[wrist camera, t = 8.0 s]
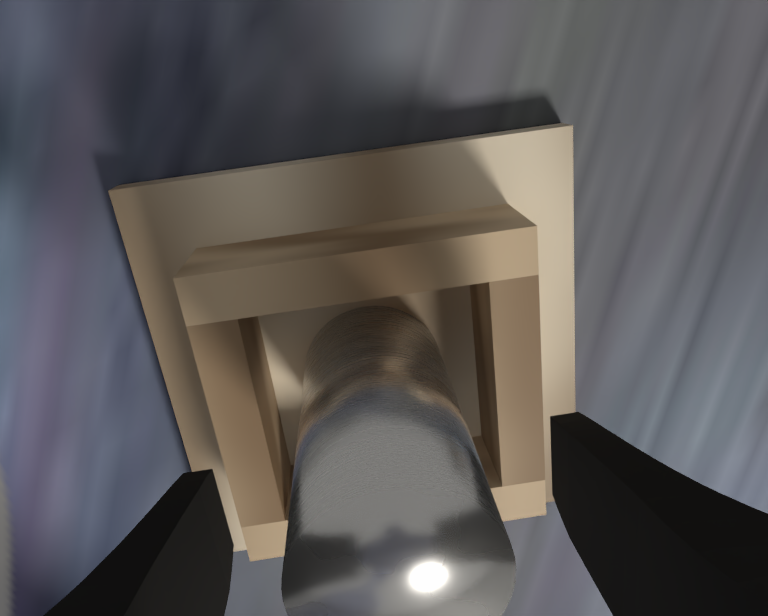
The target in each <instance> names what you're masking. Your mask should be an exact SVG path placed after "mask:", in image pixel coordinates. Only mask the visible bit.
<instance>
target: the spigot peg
mask: <svg viewBox="0 0 768 616" xmlns="http://www.w3.org/2000/svg"><path fill="white" fill-rule="evenodd" d="M515 580H516V563H515V556H514V553H513V549H512V546H511V543H510V540H509V538H508V535H507V532H506V530H505V527H504V524H503V521H502V519H501V516H500V513H499V510H498V508H497V505H496V502H495V500H494V497H493V494H492V491H491V489H490V486H489V483H488V481H487V478H486V475H485V472H484V470H483V467H482V464H481V462H480V459H479V456H478V453H477V451H476V448H475V445H474V442H473V440H472V437H471V434H470V432H469V429H468V426H467V423H466V421H465V418H464V415H463V413H462V410H461V407H460V404H459V402H458V399H457V396H456V394H455V391H454V388H453V385H452V383H451V380H450V377H449V375H448V372H447V369H446V366H445V364H444V361H443V358H442V355H441V353H440V350H439V347H438V345H437V343H436V340H435V338H434V337H433V335H432V334H431V332H430V331H429V330H428V328H427V327H426V326H425V325H424V324H423V323H422V322H420V321H419V320H418V319H417V318H415V317H414V316H412V315H411V314H409V313H406V312H404V311H402V310H399V309H396V308H392V307H387V306H376V305H375V306H364V307H358V308H354V309H351V310H348V311H346V312H344V313H342V314H339V315H338V316H336V317H335V318H333V319H331V320H330V321H329V322H328V323H327V324H325V325H324V326H323V327H322V328H321V330H320V331H319V332H318V333H317V335H316V336H315V337H314V339H313V341H312V343H311V345H310V347H309V350H308V353H307V357H306V362H305V371H304V380H303V389H302V399H301V408H300V417H299V426H298V435H297V444H296V453H295V462H294V472H293V481H292V490H291V499H290V508H289V517H288V526H287V535H286V544H285V554H284V563H283V572H282V587H281V589H282V597H283V602H284V606H285V609H286V612H287V614H288V616H501V615H502V614H503V612H504V610H505V609H506V607H507V605H508V603H509V601H510V598H511V596H512V593H513V589H514V585H515Z"/></svg>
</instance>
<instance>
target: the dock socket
mask: <svg viewBox="0 0 768 616" xmlns="http://www.w3.org/2000/svg"><path fill="white" fill-rule="evenodd" d="M108 192H109V195H110V198H111V202H112V205H113V208H114V212H115V215H116V219H117V222H118V225H119V229H120V232H121V235H122V239H123V242H124V245H125V249H126V252H127V255H128V259H129V262H130V265H131V269H132V272H133V276H134V279H135V282H136V286H137V289H138V292H139V296H140V299H141V302H142V306H143V309H144V312H145V316H146V319H147V322H148V326H149V329H150V333H151V336H152V339H153V343H154V346H155V349H156V353H157V356H158V359H159V363H160V366H161V369H162V373H163V376H164V379H165V383H166V386H167V390H168V393H169V396H170V400H171V403H172V406H173V410H174V413H175V416H176V420H177V423H178V426H179V430H180V433H181V436H182V440H183V443H184V447H185V450H186V453H187V457H188V460H189V463H190V467H191V470H192V472H195V471H201V470H208V469H213V473H214V476H215V480H216V483H217V487H218V490H219V494H220V498H221V501H222V505H223V508H224V512H225V515H226V519H227V523H228V526H229V530H230V533H231V537H232V540H233V544H234V549H233V552H235V551H241V550H247V551H248V555H249V559H250V561H256V560H262V559H269V558H275V557H281V556H284V554H285V544H286V535H287V526H288V517H289V508H290V499H291V490H292V481H293V472H294V462H295V453H296V444H297V435H298V426H299V417H300V408H301V399H302V389H303V380H304V371H305V362H306V357H307V353H308V350H309V347H310V345H311V343H312V341H313V339H314V337H315V336H316V335H317V333H318V332H319V331H320V330H321V328H322V327H323V326H324V325H325V324H327V323H328V322H329V321H330V320H331V319H333V318H335V317H336V316H338V315H339V314H342V313H344V312H346V311H348V310H351V309H354V308H358V307H364V306H375V305H376V306H387V307H392V308H396V309H399V310H402V311H404V312H406V313H409V314H411V315H412V316H414V317H415V318H417V319H418V320H419V321H420V322H422V323H423V324H424V325H425V326H426V327H427V328H428V330H429V331H430V332H431V334H432V335H433V337H434V338H435V340H436V343H437V345H438V347H439V350H440V353H441V355H442V358H443V361H444V364H445V366H446V369H447V372H448V375H449V377H450V380H451V383H452V385H453V388H454V391H455V394H456V396H457V399H458V402H459V404H460V407H461V410H462V413H463V415H464V418H465V421H466V423H467V426H468V429H469V432H470V434H471V437H472V440H473V442H474V445H475V448H476V451H477V453H478V456H479V459H480V462H481V464H482V467H483V470H484V472H485V475H486V478H487V481H488V483H489V486H490V489H491V491H492V494H493V497H494V500H495V502H496V505H497V508H498V510H499V513H500V516H501V519H502V521H509V520H515V519H521V518H528V517H534V516H540V515H546V502H552V501H555V500H554V498H553V495H552V467H551V432H550V416H555V415H561V414H568V413H574V412H575V324H574V203H573V125H569V124H564V123H558V124H551V125H544V126H537V127H529V128H522V129H515V130H508V131H501V132H494V133H487V134H479V135H472V136H465V137H458V138H451V139H444V140H437V141H430V142H422V143H415V144H408V145H401V146H394V147H387V148H380V149H372V150H365V151H358V152H351V153H344V154H337V155H330V156H322V157H315V158H308V159H301V160H294V161H287V162H280V163H273V164H265V165H258V166H251V167H244V168H237V169H230V170H223V171H215V172H208V173H201V174H194V175H187V176H180V177H173V178H166V179H158V180H151V181H144V182H137V183H130V184H123V185H118V186H116V187H114V188H112V189H110V190H108Z"/></svg>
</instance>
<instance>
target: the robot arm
mask: <svg viewBox="0 0 768 616" xmlns="http://www.w3.org/2000/svg"><path fill="white" fill-rule="evenodd" d="M550 432H551V467H552V495H553V498H554V500H555V503H556V505H557V508H558V510H559V513H560V515H561V518H562V520H563V523H564V525H565V528H566V530H567V532H568V535H569V537H570V539H571V541H572V543H573V545H574V546H575V548H576V550H577V552H578V554H579V555H580V557H581V559H582V561H583V563H584V564H585V566H586V568H587V570H588V572H589V573H590V575H591V577H592V579H593V581H594V582H595V584H596V586H597V588H598V589H599V591H600V593H601V595H602V597H603V598H604V600H605V602H606V604H607V605H608V607H609V609H610V611H611V613H612V614H613V616H768V514H767V513H765V512H762V511H760V510H757V509H755V508H752V507H750V506H748V505H745V504H743V503H741V502H739V501H736V500H734V499H732V498H730V497H727V496H725V495H723V494H721V493H718V492H716V491H714V490H712V489H710V488H708V487H706V486H704V485H702V484H700V483H698V482H696V481H694V480H692V479H690V478H689V477H687V476H685V475H683V474H681V473H679V472H677V471H675V470H673V469H672V468H670V467H668V466H666V465H664V464H663V463H661V462H659V461H657V460H656V459H654V458H652V457H651V456H649V455H647V454H646V453H644V452H642V451H641V450H639V449H637V448H636V447H634V446H632V445H631V444H629V443H627V442H626V441H624V440H623V439H621V438H620V437H618V436H616V435H615V434H613V433H612V432H610V431H608V430H607V429H605V428H604V427H602V426H601V425H599V424H597V423H596V422H594V421H593V420H591V419H589V418H588V417H586V416H585V415H583V414H581V413H579V412H574V413H568V414H561V415H555V416H550ZM233 549H234V544H233V540H232V537H231V533H230V530H229V526H228V523H227V519H226V515H225V512H224V508H223V505H222V501H221V498H220V494H219V490H218V487H217V483H216V480H215V476H214V473H213V469H208V470H201V471H195V472H188V473H183V474H182V475H181V476H180V477H179V478H178V479H177V481H176V482H175V483H174V484H173V485H172V486H171V487H170V488H169V489H168V491H167V492H166V493H165V494H164V495H163V496H162V497H161V498H160V500H159V501H158V502H157V503H156V504H155V505H154V506H153V508H152V509H151V510H150V511H149V512H148V513H147V514H146V515H145V517H144V518H143V519H142V520H141V521H140V522H139V523H138V524H137V525H136V526H135V528H134V529H133V530H132V531H131V532H130V533H129V534H128V535H127V536H126V537H125V539H124V540H123V541H122V542H121V543H120V544H119V545H118V546H117V547H116V548H115V549H114V550H113V551H112V552H111V553H110V554H109V555H108V556H107V557H106V558H105V559H104V560H103V561H102V562H101V563H100V564H99V565H98V566H97V567H96V568H95V569H94V570H93V571H92V572H91V573H90V574H89V575H88V576H87V577H86V578H85V579H84V580H83V581H82V582H81V583H80V584H79V585H78V586H77V587H76V588H74V589H73V590H72V591H71V592H70V593H69V594H68V595H67V596H66V597H65V598H63V599H62V600H61V601H60V602H59V603H58V604H56V605H55V606H54V607H53V608H52V609H51V610H49V611H48V612H47V613H46V614H45V615H44V616H224V614H225V609H226V605H227V600H228V595H229V590H230V581H231V572H232V560H233Z"/></svg>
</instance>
